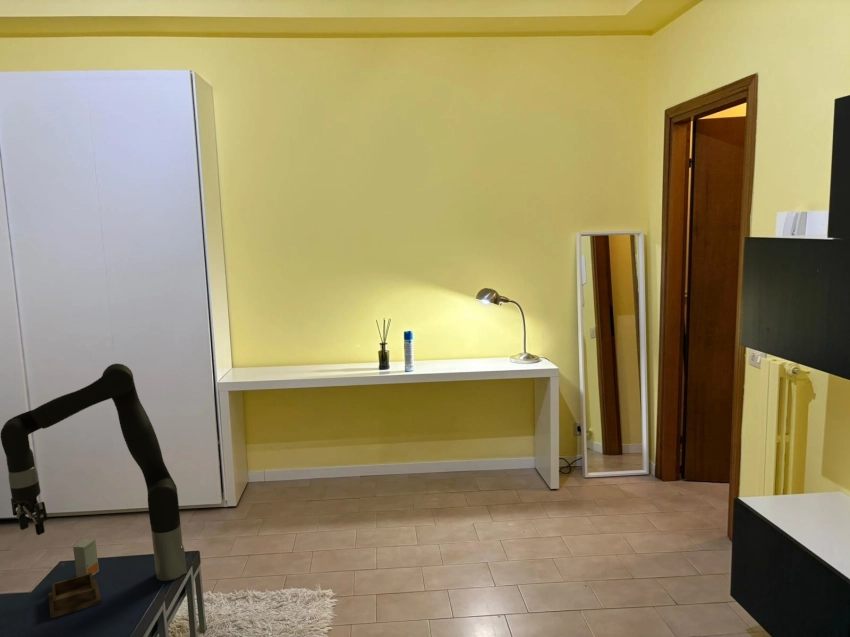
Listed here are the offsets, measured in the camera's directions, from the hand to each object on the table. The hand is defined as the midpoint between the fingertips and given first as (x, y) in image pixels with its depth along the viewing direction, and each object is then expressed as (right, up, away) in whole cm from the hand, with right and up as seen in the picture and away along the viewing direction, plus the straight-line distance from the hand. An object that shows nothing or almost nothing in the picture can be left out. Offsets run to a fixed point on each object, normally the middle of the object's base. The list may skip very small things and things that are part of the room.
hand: (32, 531), depth 200 cm
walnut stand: (+9, -24, +7) cm, 27 cm away
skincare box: (+6, -22, +21) cm, 31 cm away
